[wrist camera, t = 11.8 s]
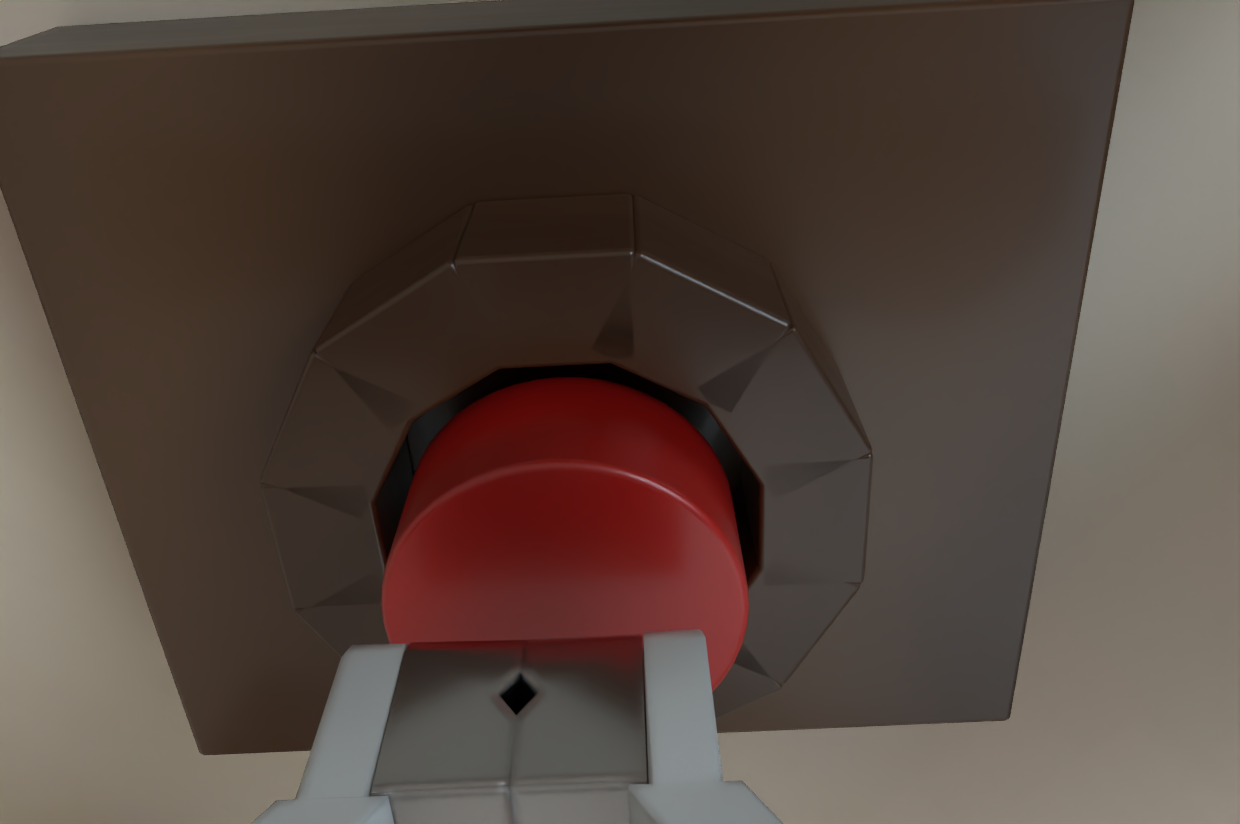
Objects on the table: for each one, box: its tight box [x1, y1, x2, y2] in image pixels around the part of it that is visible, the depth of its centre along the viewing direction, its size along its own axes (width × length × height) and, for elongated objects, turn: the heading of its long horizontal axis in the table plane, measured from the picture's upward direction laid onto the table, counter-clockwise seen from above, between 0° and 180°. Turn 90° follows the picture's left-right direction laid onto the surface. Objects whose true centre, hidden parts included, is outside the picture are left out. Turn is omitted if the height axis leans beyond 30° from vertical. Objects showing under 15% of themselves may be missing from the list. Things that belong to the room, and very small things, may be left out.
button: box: [381, 377, 749, 706], centre depth 11 cm, size 4×4×2 cm
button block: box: [0, 0, 1134, 755], centre depth 13 cm, size 12×10×4 cm
